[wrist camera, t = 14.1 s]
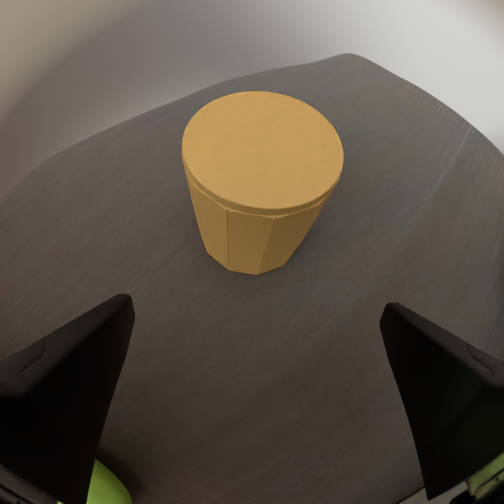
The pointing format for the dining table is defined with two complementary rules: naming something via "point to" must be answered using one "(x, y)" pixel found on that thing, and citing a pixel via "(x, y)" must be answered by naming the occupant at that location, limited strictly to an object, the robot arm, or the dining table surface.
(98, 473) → the green open-ended shell
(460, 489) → the cosmetic box
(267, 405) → the dining table surface
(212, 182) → the cup-cap
